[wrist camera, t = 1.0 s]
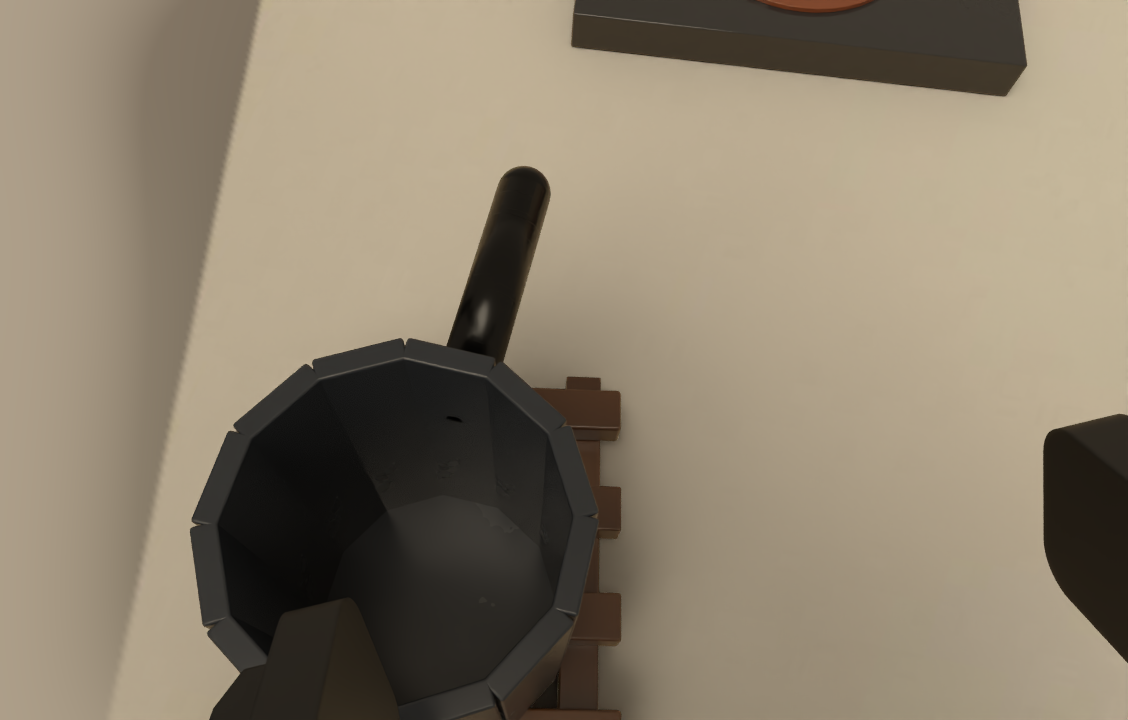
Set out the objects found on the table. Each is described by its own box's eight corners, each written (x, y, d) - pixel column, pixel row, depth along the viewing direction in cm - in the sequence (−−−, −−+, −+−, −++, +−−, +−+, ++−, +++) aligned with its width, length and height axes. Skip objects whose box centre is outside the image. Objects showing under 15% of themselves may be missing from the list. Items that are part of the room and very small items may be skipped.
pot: (534, 778, 21) (541, 781, 13) (276, 711, 22) (124, 674, 13) (635, 330, 26) (685, 129, 18) (424, 283, 26) (379, 64, 18)
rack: (317, 379, 27) (302, 351, 25) (614, 391, 28) (621, 364, 26) (235, 920, 21) (208, 934, 20) (613, 929, 22) (621, 943, 20)
